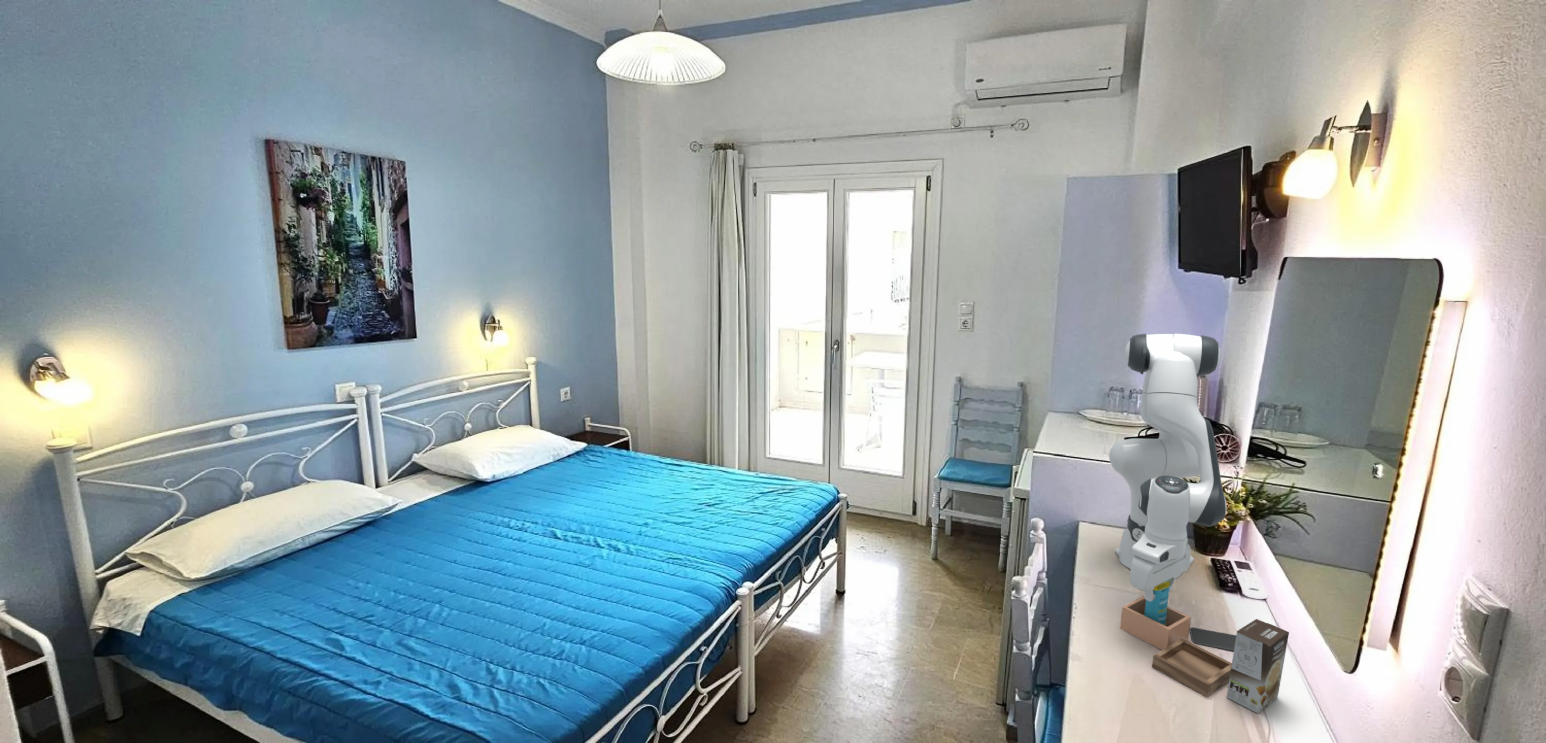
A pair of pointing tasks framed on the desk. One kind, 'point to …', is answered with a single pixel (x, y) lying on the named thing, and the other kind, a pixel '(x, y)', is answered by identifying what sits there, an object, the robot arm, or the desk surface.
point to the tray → (1193, 667)
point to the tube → (1158, 603)
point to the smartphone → (1213, 639)
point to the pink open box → (1154, 625)
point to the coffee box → (1257, 665)
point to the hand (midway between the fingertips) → (1158, 594)
